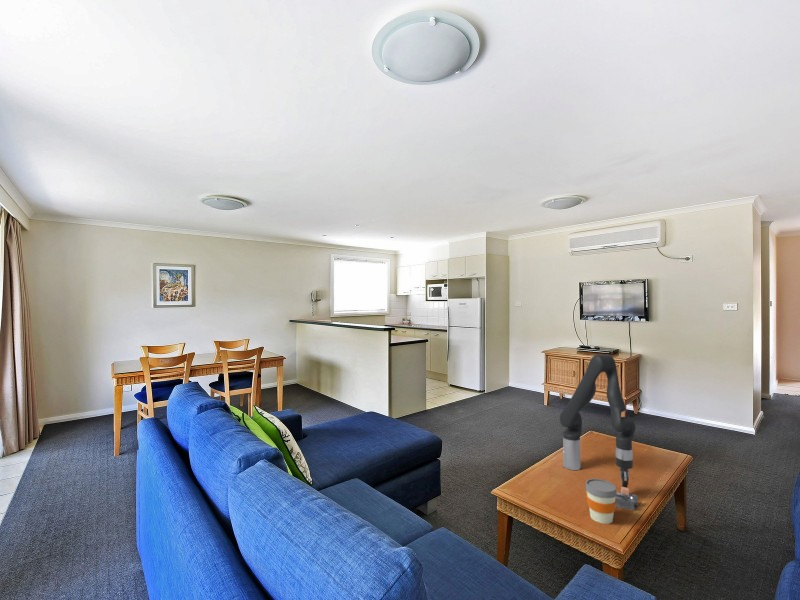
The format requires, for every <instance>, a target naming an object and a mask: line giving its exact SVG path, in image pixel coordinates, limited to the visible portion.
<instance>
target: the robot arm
mask: <svg viewBox="0 0 800 600" xmlns="http://www.w3.org/2000/svg"><path fill="white" fill-rule="evenodd" d="M601 373H605V375H606V378H607V387H606V399H607V402H608V405H609V409H610V423H611V426H612V428H613V429H614V431H616V432H617V433H619V434H618V435H616V436H615V465H616V466H617V467H618V468H619V473H620V480H621V482H620V483H621V487H627V488H628V485H629V481H630V470H631V469H633V468H634V453H633V439H634V436H635V432H636V422H635V420H634V419H633V418H632V417H631V416H622V413H623V412H626V409H627V408H626V404H625V402H624V398H623V394H622V392H621V388H620V381H619V375H618V369H617V363H616V361H615V359H614V357H613V356H612V355H609V354H596V355H593V356H592V357H591V358H590V361H589V362H588V365H587V368H586V370H585V372H584V374H583V376H582V378H581V380H580V382H579V383H578V385H577V387H576V389H575V390H574V393H573V394H572V396H571V398H570V400H569V402H568V403H567V405H566V406H565V407H564V408H563V410H561V413H560V415H559V422H560V425H561V426H562V427H565V428H566V429H565V430H564V431H563V433H562V446H563V447H562V448H563V449H562V459H563V460H562V463H563V464H562V465H563V466H562V467H563V468H565V469H567V470H571V471H579V470H581V468H582V467H581V464H582V463H581V435H582V432H583V431H582V430H583V429H582V427H583V420H582V416H581V413H580V411H581V410H582V409H584V408H585V407H586V406H587V405H588V404H589V403H590V402H592V400H593V398H594V396H595V395H596V392H597V385H596V382H597V379H598V377H599V376H600V374H601Z"/></svg>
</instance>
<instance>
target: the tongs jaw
mask: <svg viewBox="0 0 800 600" xmlns="http://www.w3.org/2000/svg"><path fill="white" fill-rule="evenodd" d="M615 499H616V507H615V508H621V509H625V510H629V511H630V510H631V511H635V507H634V500H632V499H627V498H621V497H616V498H615Z"/></svg>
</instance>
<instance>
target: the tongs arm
mask: <svg viewBox="0 0 800 600" xmlns="http://www.w3.org/2000/svg"><path fill="white" fill-rule="evenodd" d="M616 497H621V498H627V499H632V500H634V508H638V505H639V503H638V501H639V500H638V499H639V498H638V497H639V496H638V495H637V494H634V493H629V495H626V494H622V493H621V492H617V495H616Z"/></svg>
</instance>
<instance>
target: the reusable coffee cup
mask: <svg viewBox="0 0 800 600" xmlns="http://www.w3.org/2000/svg"><path fill="white" fill-rule="evenodd" d="M585 491H586V494H585V495H586V501H587V502H586V503H587V507H588V508H589V509H588V510H589V514H590V518H591V519H592V520H593V521H595V522H597V523H600V524H604V525H605V524H606V525H608V524H612V523H613V519H614V514H615V512H616V508H617V507H616V499H615V498H616V495H617V493H618V492H617V488H616V485H615V484H614V483H612V482H610V481H608V480H605V479H600V478H589V479H587V480H586V481H585Z"/></svg>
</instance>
